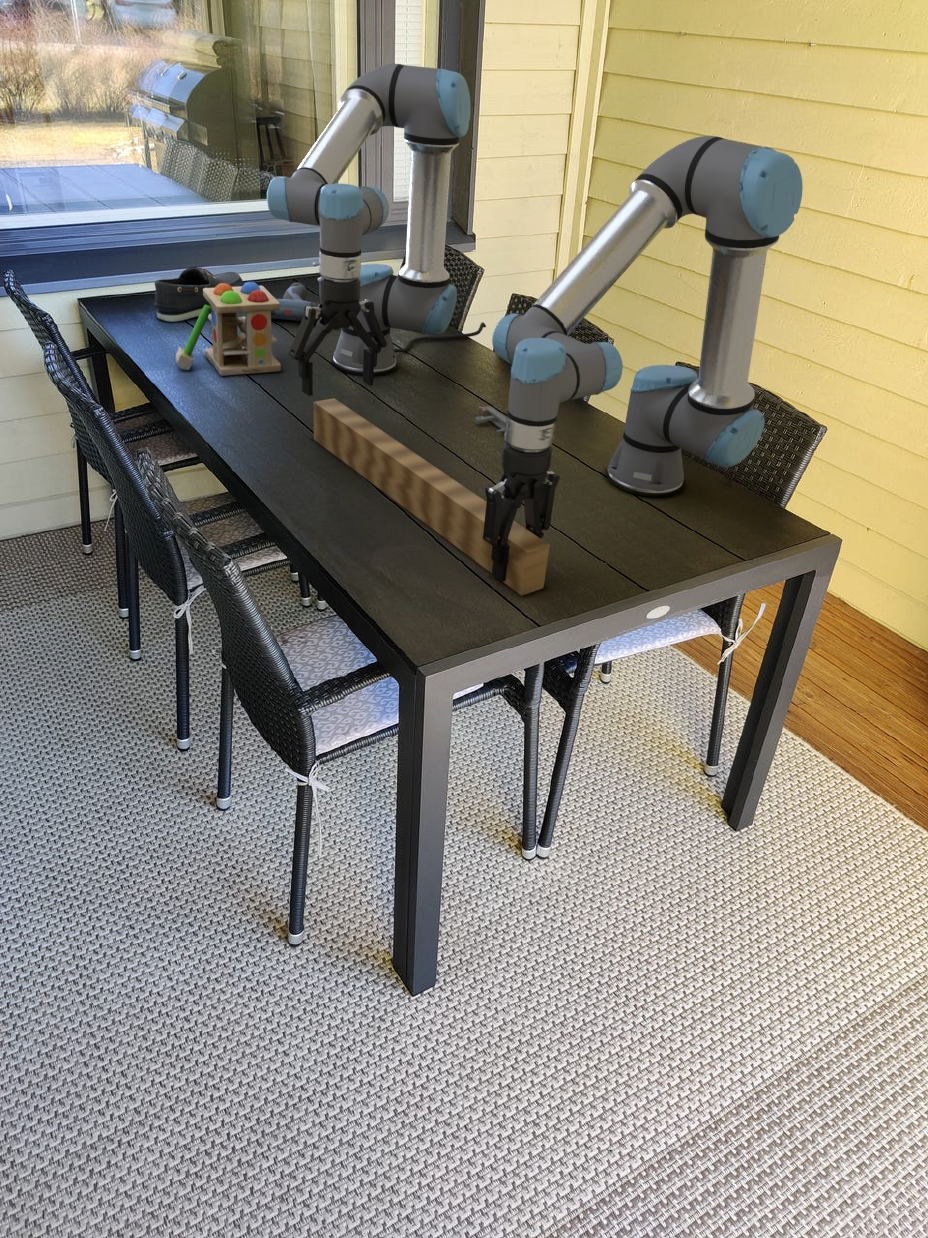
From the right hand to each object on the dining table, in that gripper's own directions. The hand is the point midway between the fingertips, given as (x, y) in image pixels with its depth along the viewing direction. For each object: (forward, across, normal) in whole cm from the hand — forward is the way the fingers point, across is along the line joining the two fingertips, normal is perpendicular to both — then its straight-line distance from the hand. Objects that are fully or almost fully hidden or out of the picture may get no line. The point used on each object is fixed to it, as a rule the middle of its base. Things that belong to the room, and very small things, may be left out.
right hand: (511, 572), depth 162 cm
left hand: (-12, 0, +56) cm, 57 cm away
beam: (+1, 0, +28) cm, 28 cm away
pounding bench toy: (+1, 0, +107) cm, 107 cm away
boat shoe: (+1, +13, +149) cm, 150 cm away
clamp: (+1, +37, +48) cm, 61 cm away
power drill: (+1, +36, +134) cm, 139 cm away
